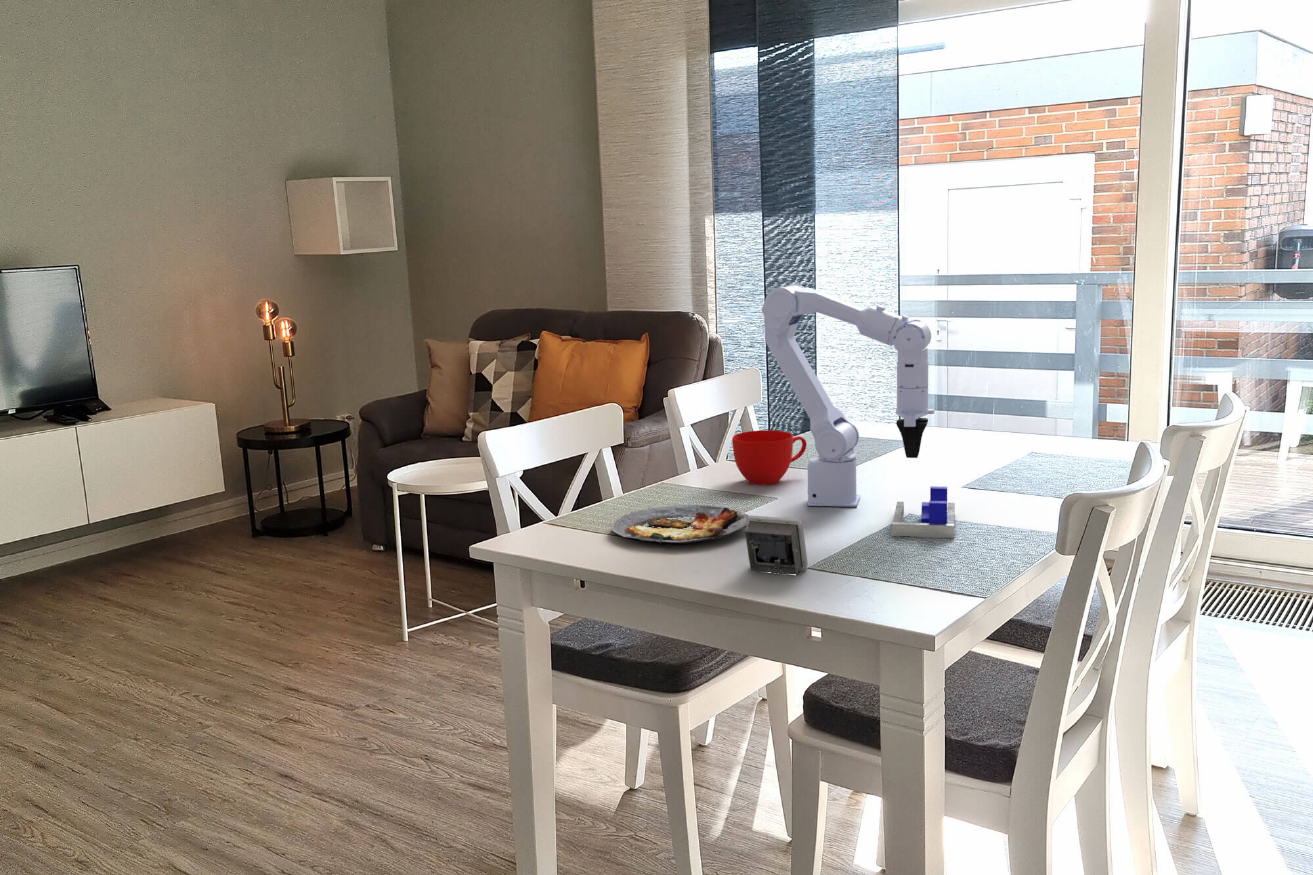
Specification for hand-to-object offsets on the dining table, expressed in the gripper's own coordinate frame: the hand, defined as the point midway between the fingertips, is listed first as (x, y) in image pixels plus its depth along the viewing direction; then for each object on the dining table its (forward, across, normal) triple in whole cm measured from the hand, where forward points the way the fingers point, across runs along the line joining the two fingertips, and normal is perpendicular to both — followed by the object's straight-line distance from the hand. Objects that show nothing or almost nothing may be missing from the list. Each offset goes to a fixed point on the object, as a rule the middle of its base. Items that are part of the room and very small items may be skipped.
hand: (912, 457), depth 205 cm
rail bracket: (+10, -11, -3) cm, 15 cm away
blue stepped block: (+10, -12, -5) cm, 17 cm away
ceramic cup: (+10, +19, +31) cm, 38 cm away
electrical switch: (+10, -42, +18) cm, 47 cm away
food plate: (+11, -21, +40) cm, 46 cm away
